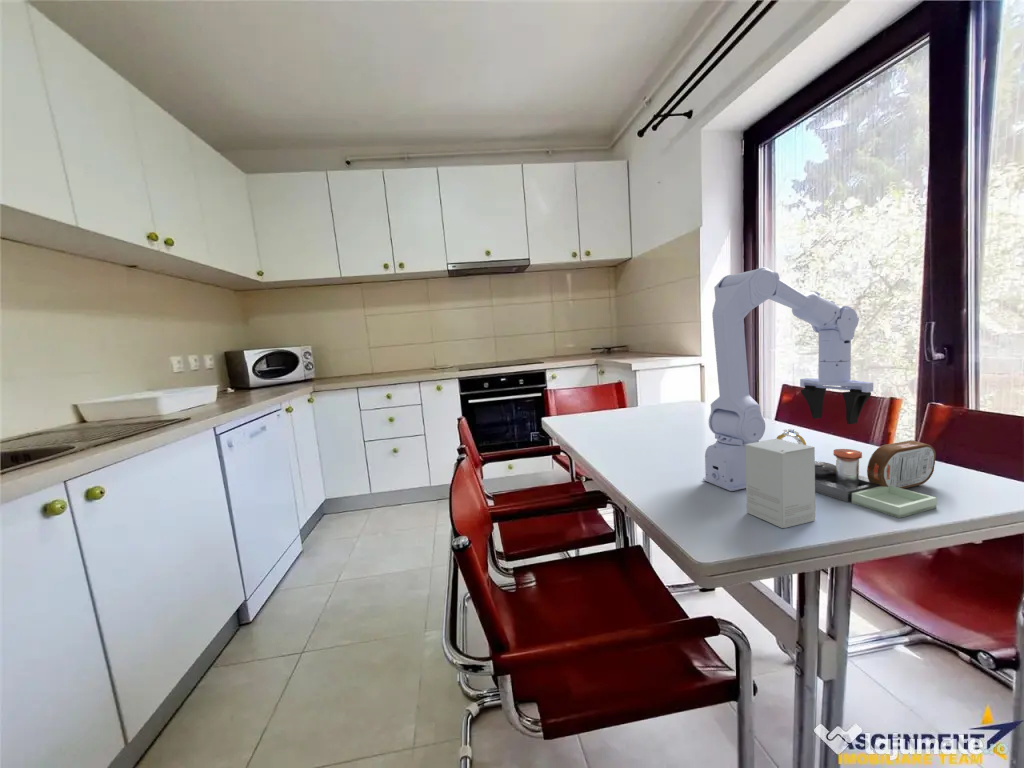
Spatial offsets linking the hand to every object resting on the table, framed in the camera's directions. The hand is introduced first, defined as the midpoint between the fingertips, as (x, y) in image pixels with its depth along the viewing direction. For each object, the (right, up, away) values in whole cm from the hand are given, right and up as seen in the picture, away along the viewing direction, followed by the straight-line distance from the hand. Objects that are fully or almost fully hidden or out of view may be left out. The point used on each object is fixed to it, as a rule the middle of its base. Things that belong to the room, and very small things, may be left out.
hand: (833, 420), depth 94 cm
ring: (-7, -11, +4) cm, 13 cm away
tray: (-7, -13, -22) cm, 26 cm away
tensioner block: (-10, -12, -12) cm, 20 cm away
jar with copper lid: (-9, -12, -15) cm, 21 cm away
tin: (+1, -11, -15) cm, 19 cm away
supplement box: (-27, -15, -23) cm, 38 cm away
